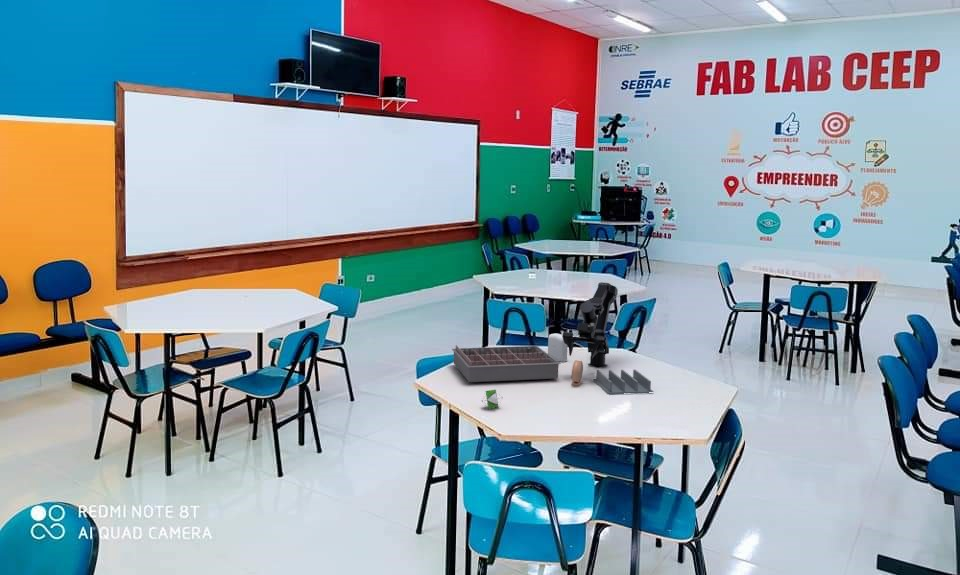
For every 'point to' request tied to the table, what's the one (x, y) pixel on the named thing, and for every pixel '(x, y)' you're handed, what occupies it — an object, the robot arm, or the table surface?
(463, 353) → the organizer tray
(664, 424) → the table surface
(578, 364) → the peach disc
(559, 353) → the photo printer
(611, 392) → the dish rack
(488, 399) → the geometric puzzle
